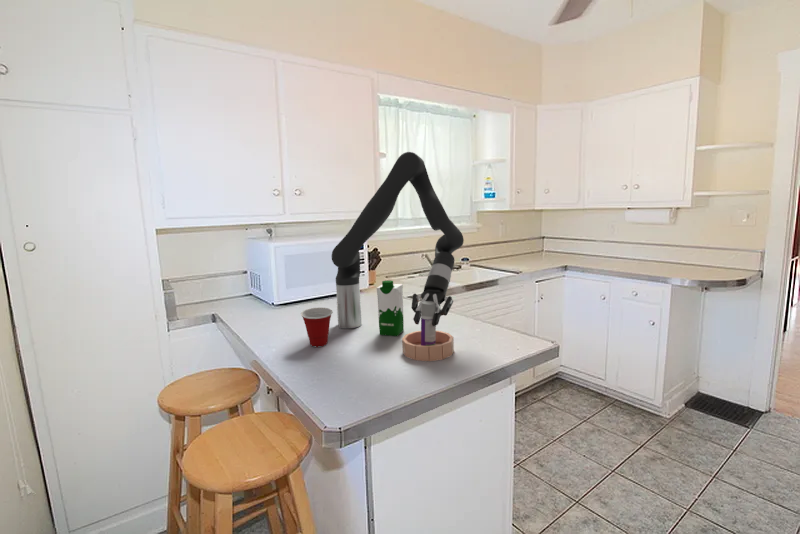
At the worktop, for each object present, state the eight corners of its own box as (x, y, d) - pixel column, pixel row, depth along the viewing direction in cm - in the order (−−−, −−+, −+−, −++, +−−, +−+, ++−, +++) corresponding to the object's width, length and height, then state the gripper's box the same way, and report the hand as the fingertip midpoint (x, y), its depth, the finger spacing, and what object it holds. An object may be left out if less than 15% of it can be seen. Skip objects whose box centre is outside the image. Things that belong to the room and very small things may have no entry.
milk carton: (376, 335, 148) (373, 282, 145) (385, 328, 156) (383, 277, 153) (399, 337, 145) (396, 283, 142) (406, 329, 153) (404, 278, 150)
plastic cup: (307, 352, 133) (305, 317, 132) (299, 343, 143) (297, 310, 141) (338, 346, 138) (336, 312, 137) (329, 337, 148) (327, 305, 146)
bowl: (410, 363, 120) (410, 349, 120) (398, 346, 136) (397, 333, 135) (460, 357, 124) (460, 343, 123) (443, 340, 139) (443, 328, 139)
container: (419, 345, 132) (420, 301, 130) (434, 345, 132) (434, 300, 130) (422, 350, 127) (422, 304, 125) (436, 350, 128) (437, 304, 126)
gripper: (415, 272, 136) (400, 316, 127) (455, 274, 129) (442, 320, 121) (422, 285, 142) (408, 327, 133) (461, 287, 135) (449, 332, 126)
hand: (424, 324), depth 127 cm, fingers open, 5 cm apart
